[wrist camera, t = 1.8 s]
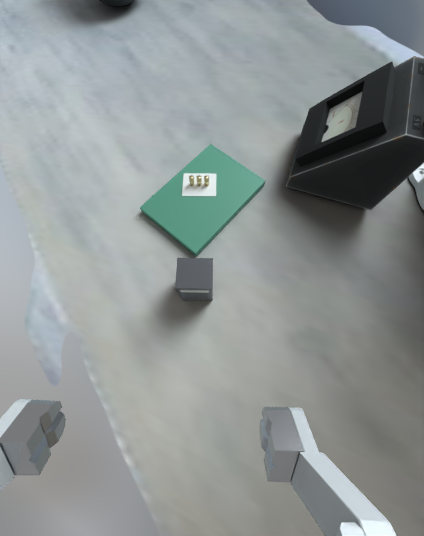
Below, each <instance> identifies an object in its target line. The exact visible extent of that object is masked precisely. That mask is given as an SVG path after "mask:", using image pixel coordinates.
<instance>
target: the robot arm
mask: <svg viewBox="0 0 424 536" xmlns="http://www.w3.org/2000/svg"><path fill="white" fill-rule="evenodd" d="M409 180H410V181H411V183H412V184H413V186H414V187H415V189H416V193H417V198H418V201H419V204H420V206H421V207H422V209H423V210H424V163H423V164H422V165H421V166H420V167H419V168H418V169H416V170H415V171H414V172H413V173H412V174H411V175H410V176H409ZM61 408H62V405H61V402H60V401H47V400H28V399H27V400H26V399H19V400H17V401H16V402H14V403H13V404H12V406H11V407H10V408H9V409H8V411H7V412H6V413H5V414H4V415H3V416H2V417H1V419H0V491H1V490H2V489H3V488H4V487H5V486H6V485H7V484H8V483H9V482H10V481H11V480H12V479H13V478H15V475H40V473H41V471H42V470H43V468H44V466H45V464H46V462H47V461H48V459H49V457H50V455H51V447H52V446H54V445H55V444H56V443H57V442H58V441H59V439H60V437H61V435H62V433H63V431H64V428H65V420H66V419H65V415H64V414H63V413H62V412H60V409H61ZM262 415H263V419H262V420H261V421H260V440H261V446H262V448H263V450H264V451H265V452H266V453H265V458H264V463H265V468H266V474H267V479H268V481H276V482H291V485H292V487H293V488H294V490H295V491H296V492H297V494H298V495H299V497H300V498H301V500H302V501H303V503H304V504H305V506H306V507H307V509H308V510H309V512H310V513H311V515H312V516H313V518H314V519H315V521H316V522H317V524H318V525H319V527H320V528H321V530H322V531H323V533H324V534H325V536H396V534H395V532H394V530H393V528H392V526H391V524H390V522H389V521H388V520H387V519H386V518H385V517H384V516H383V515H382V514H381V513H380V512H379V511H378V509H377V508H376V507H375V506H374V505H373V504H372V503H371V502H370V501H369V500H368V499H367V498H366V497H365V496H364V495H363V494H362V493H361V492H360V491H359V490H358V489H357V488H356V486H355V485H354V484H353V483H352V482H351V481H350V480H349V479H348V478H347V477H346V476H345V475H344V474H343V473H342V472H341V471H340V470H339V469H338V468H337V467H336V466H335V464H334V463H333V462H332V461H331V460H330V459H329V458H328V457H327V456H326V455H325V454H324V453H321V452H319V450H318V448H317V445H316V443H315V440H314V437H313V435H312V432H311V429H310V427H309V424H308V422H307V419H306V416H305V414H304V411H303V410H302V408H288V407H264V408H263V410H262Z"/></svg>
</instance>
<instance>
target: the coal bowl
mask: <svg viewBox="0 0 424 536" xmlns="http://www.w3.org/2000/svg"><path fill="white" fill-rule="evenodd" d="M100 1H102V2H103V3H106V4H108V5H111V6H124V5H127V4H129V3H131V2H132V1H134V0H100Z"/></svg>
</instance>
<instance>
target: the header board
mask: <svg viewBox="0 0 424 536" xmlns="http://www.w3.org/2000/svg"><path fill="white" fill-rule="evenodd" d="M190 175H193V176H194V184H195V185H194V186H190V182H189V176H190ZM198 175H200V176H201V179H202V186H197V178H196V177H197V176H198ZM206 175H207V176H209V186H205V185H204V176H206ZM264 184H265V180H264V179H262V178H261V177H259V176H258V175H256V174H255V173H253V172H252V171H250V170H249V169H247V168H246V167H244V166H243V165H241V164H240V163H238V162H237V161H235V160H234V159H232V158H231V157H229V156H228V155H226V154H225V153H223V152H222V151H220V150H219V149H217V148H216V147H214V146H213V145H211V144H210V145H209V146H208V147H207V148H206V149H205V150H204V151H202V152H201V153H200V154H199V155H198V156H197V157H196V158H195V159H194V160H192V161H191V162H190V163H189V164H188V165H187V166H186V167H185V168H183V169H182V170H181V171H180V172H179V173H178V174H177V175H176V176H175V177H173V178H172V179H171V180H170V181H169V182H168V183H167V184H166V185H164V186H163V187H162V188H161V189H160V190H159V191H158V192H157V193H156V194H154V195H153V196H152V197H151V198H150V199H149V200H148V201H147V202H146V203H144V204H143V205H142V206H141V207H140V209H141V211H142V212H143V213H144V214H145V215H146V216H148V217H149V218H150V219H151V220H152V221H154V222H155V223H156V224H157V225H158V226H160V227H161V228H162V229H163V230H165V231H166V232H167V233H168V234H169V235H171V236H172V237H173V238H174V239H176V240H177V241H178V242H179V243H180V244H182V245H183V246H184V247H185V248H187V249H188V250H189V251H190V252H191V253H193V254H194V255H195V256H197V255H198V254H199V253H200V252H201V251H202V250H203V249H204V248H205V247H206V246H207V245H208V244H209V243H210V242H211V241H212V240H213V239H214V238H215V236H216V235H217V234H218V233H219V232H220V231H221V230H222V229H223V228H224V227H225V226H226V225H227V224H228V223H229V222H230V221H231V220H232V219H233V218H234V217H235V216H236V214H237V213H238V212H239V211H240V210H241V209H242V208H243V207H244V206H245V205H246V204H247V203H248V202H249V201H250V200H251V199H252V198H253V197H254V196H255V195H256V194H257V192H258V191H259V190H260V189H261V188H262V187H263V186H264Z"/></svg>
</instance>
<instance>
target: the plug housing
mask: <svg viewBox="0 0 424 536" xmlns="http://www.w3.org/2000/svg"><path fill="white" fill-rule="evenodd" d="M175 288H176V290H177V291H178V293H179V295H180V296H181V298H182V300H212V295H213V292H212V288H213V258H177V272H176V287H175Z"/></svg>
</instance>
